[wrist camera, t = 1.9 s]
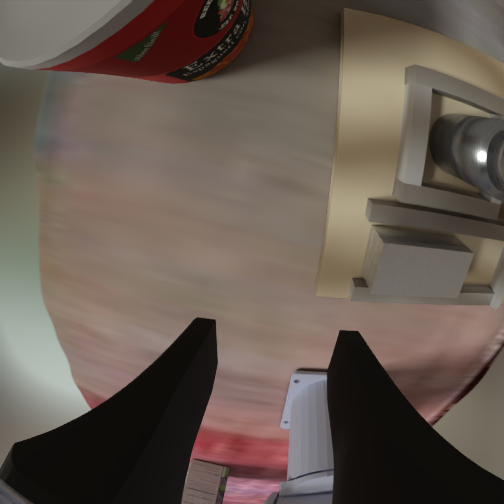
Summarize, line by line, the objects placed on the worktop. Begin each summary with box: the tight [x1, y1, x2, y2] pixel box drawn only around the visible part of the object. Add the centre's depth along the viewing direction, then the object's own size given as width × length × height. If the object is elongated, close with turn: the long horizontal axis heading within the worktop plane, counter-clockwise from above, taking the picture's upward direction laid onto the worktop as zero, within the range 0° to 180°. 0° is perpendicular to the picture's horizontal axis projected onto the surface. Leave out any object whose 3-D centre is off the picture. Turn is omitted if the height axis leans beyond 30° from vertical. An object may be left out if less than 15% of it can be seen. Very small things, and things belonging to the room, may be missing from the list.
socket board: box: [315, 8, 504, 308], centre depth 13 cm, size 17×17×3 cm
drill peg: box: [429, 113, 504, 201], centre depth 10 cm, size 4×4×7 cm
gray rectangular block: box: [362, 225, 474, 298], centre depth 15 cm, size 3×6×2 cm, turn 88°
